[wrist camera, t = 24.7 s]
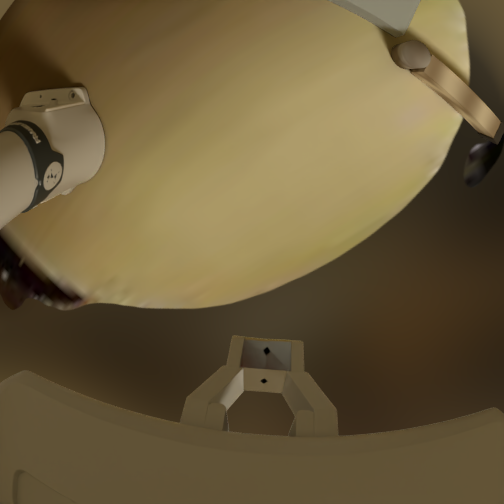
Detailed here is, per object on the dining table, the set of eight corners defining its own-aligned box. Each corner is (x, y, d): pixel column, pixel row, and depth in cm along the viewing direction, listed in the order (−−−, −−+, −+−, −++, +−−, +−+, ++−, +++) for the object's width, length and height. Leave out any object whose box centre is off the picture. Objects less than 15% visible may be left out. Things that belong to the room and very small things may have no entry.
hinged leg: (387, 58, 26) (400, 56, 22) (397, 39, 24) (410, 34, 21) (481, 138, 29) (498, 145, 25) (490, 120, 27) (507, 126, 23)
